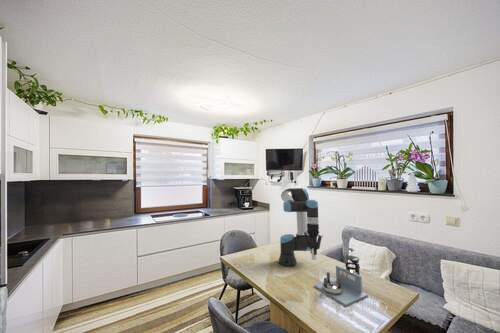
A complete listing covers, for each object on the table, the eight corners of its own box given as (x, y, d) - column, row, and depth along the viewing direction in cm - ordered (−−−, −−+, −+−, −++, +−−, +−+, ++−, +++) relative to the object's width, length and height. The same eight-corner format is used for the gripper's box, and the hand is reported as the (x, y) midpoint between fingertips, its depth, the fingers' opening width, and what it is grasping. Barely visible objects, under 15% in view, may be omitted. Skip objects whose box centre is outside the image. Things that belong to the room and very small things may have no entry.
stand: (314, 286, 134) (313, 269, 134) (334, 279, 143) (334, 263, 144) (345, 306, 112) (344, 286, 113) (367, 296, 122) (366, 277, 122)
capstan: (318, 286, 130) (318, 275, 131) (331, 282, 136) (330, 271, 136) (333, 296, 120) (333, 283, 120) (347, 291, 125) (346, 279, 126)
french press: (354, 288, 132) (353, 252, 133) (342, 281, 140) (340, 248, 141) (365, 283, 137) (363, 249, 139) (352, 277, 145) (351, 245, 147)
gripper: (301, 222, 137) (302, 257, 135) (318, 225, 127) (319, 263, 125) (307, 221, 141) (308, 255, 140) (324, 223, 132) (325, 260, 130)
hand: (313, 259), depth 132 cm, fingers closed
